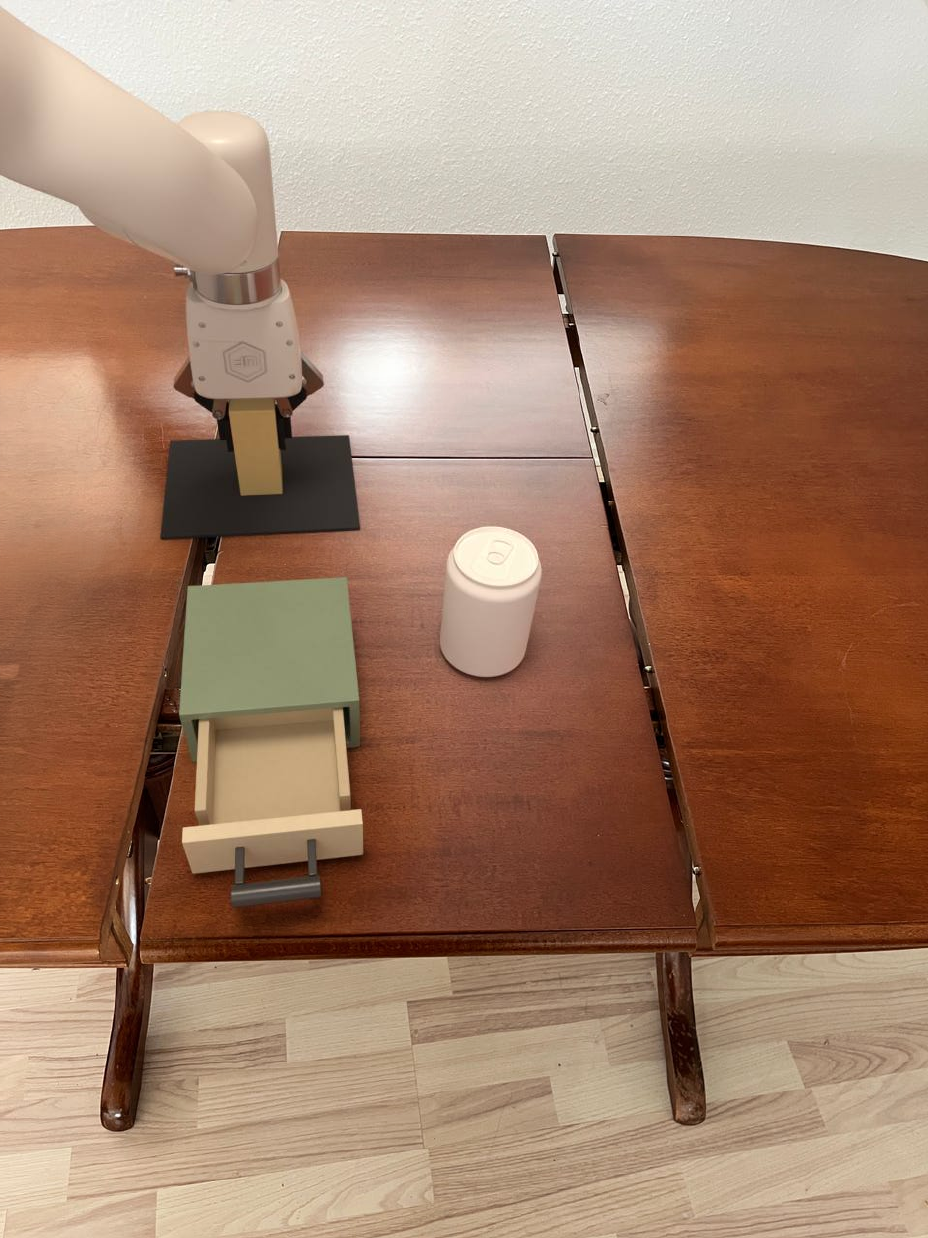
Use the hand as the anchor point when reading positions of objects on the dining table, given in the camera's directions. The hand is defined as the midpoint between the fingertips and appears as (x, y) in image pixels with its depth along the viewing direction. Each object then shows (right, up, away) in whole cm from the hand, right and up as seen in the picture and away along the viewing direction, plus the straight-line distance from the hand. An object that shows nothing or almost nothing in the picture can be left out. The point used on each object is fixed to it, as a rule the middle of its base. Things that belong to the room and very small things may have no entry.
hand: (257, 441), depth 89 cm
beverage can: (+23, -21, -9) cm, 33 cm away
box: (0, -4, +4) cm, 5 cm away
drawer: (+7, -34, -23) cm, 41 cm away
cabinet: (+5, -25, -14) cm, 29 cm away
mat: (0, -4, +4) cm, 6 cm away
